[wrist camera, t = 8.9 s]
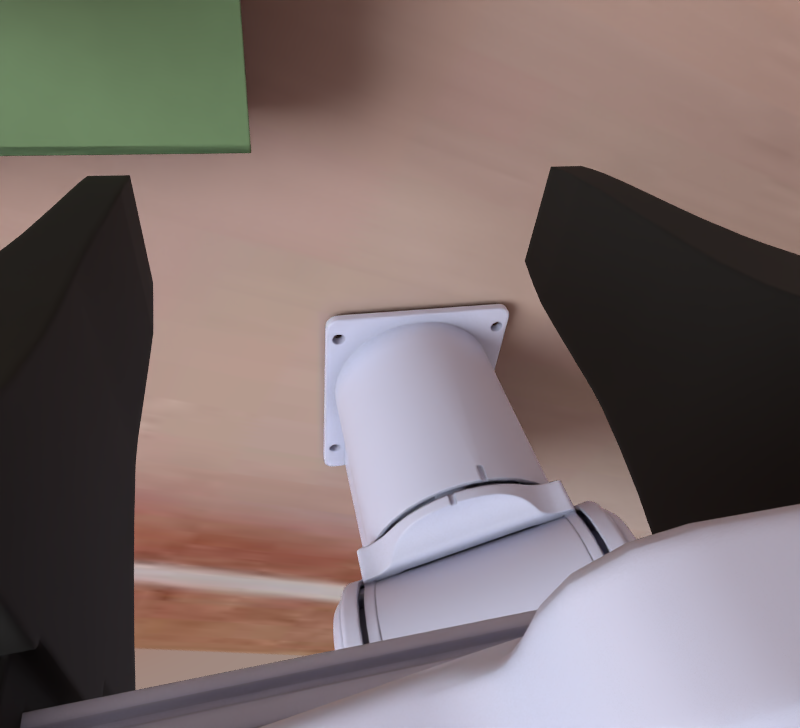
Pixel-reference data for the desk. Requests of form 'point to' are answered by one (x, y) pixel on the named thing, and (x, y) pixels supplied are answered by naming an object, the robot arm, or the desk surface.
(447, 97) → the desk surface
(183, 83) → the book stack
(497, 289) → the desk surface
